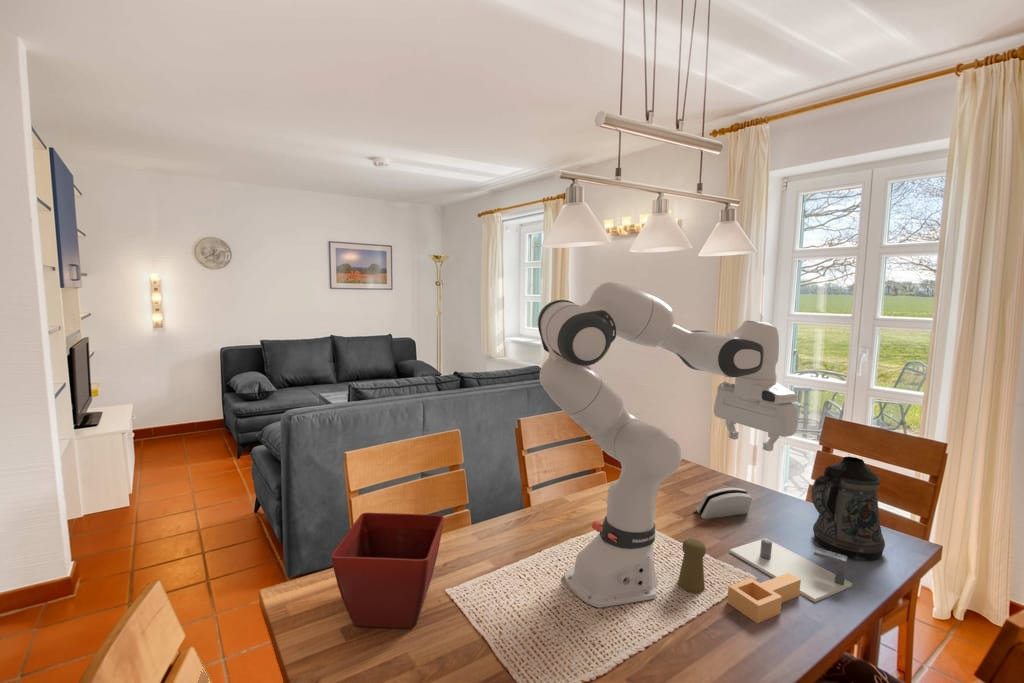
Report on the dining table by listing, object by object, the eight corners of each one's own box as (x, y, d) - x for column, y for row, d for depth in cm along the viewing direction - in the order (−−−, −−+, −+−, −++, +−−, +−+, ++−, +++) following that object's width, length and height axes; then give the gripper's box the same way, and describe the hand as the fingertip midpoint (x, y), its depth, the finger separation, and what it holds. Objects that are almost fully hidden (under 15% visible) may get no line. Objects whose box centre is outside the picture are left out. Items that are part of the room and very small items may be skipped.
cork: (672, 580, 119) (675, 537, 118) (691, 575, 121) (695, 533, 120) (690, 595, 113) (693, 550, 112) (710, 589, 116) (714, 545, 115)
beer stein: (891, 549, 136) (902, 462, 134) (868, 573, 124) (879, 478, 122) (825, 525, 149) (833, 445, 146) (797, 545, 137) (806, 458, 134)
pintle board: (814, 602, 112) (816, 581, 112) (729, 552, 133) (731, 534, 132) (851, 586, 119) (854, 566, 118) (765, 540, 139) (766, 524, 139)
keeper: (811, 578, 122) (813, 551, 121) (812, 572, 124) (815, 546, 123) (843, 588, 118) (846, 561, 117) (844, 583, 120) (847, 556, 119)
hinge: (737, 506, 161) (747, 482, 157) (746, 517, 157) (757, 493, 153) (692, 511, 156) (701, 487, 152) (701, 522, 152) (710, 498, 148)
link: (757, 623, 105) (758, 605, 104) (727, 602, 111) (728, 585, 111) (808, 601, 112) (810, 585, 112) (777, 583, 119) (779, 567, 119)
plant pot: (362, 579, 116) (362, 511, 114) (443, 583, 115) (444, 514, 114) (330, 637, 97) (329, 556, 95) (427, 642, 96) (427, 560, 95)
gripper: (710, 381, 126) (706, 433, 128) (786, 398, 108) (780, 459, 110) (727, 379, 129) (723, 431, 131) (803, 396, 111) (798, 455, 113)
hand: (749, 444), depth 120 cm, fingers open, 8 cm apart
